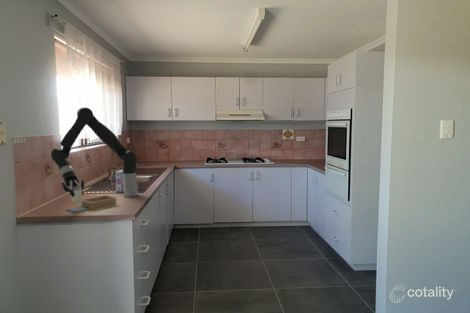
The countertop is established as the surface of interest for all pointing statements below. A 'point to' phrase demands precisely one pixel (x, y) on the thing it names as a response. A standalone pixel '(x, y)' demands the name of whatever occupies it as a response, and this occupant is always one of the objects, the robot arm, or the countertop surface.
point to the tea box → (77, 195)
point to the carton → (99, 202)
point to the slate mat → (77, 209)
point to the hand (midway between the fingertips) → (77, 195)
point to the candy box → (119, 181)
